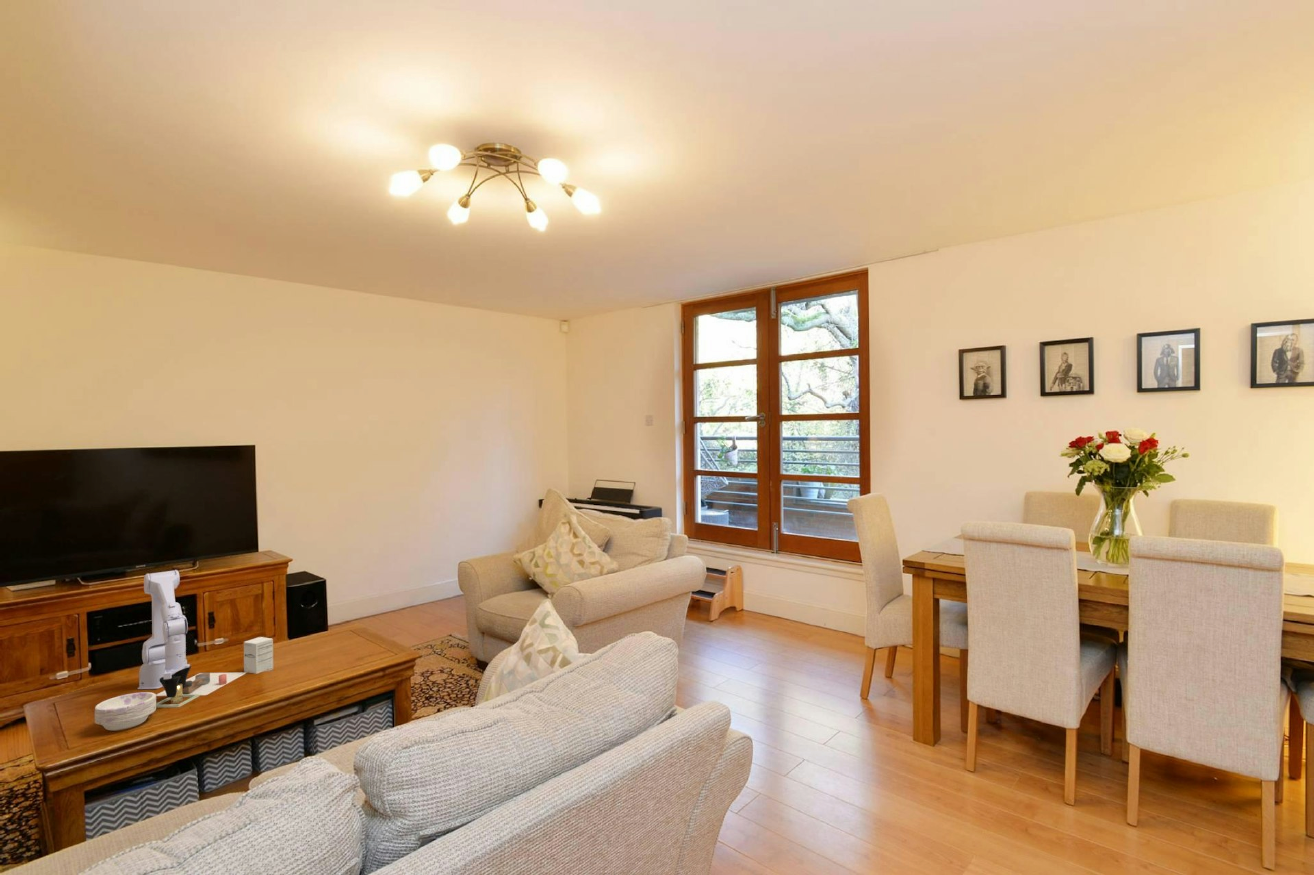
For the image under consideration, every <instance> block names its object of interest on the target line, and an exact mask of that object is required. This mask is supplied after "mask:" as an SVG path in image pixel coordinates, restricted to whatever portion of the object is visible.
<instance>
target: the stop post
mask: <svg viewBox="0 0 1314 875" xmlns="http://www.w3.org/2000/svg"><path fill="white" fill-rule="evenodd" d="M226 683H227V675H226V674H222V675H219V685H224V684H226ZM227 684H228V683H227ZM227 684H226V685H227ZM224 686H225V685H224Z"/></svg>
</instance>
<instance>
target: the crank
mask: <svg viewBox="0 0 1314 875" xmlns="http://www.w3.org/2000/svg"><path fill="white" fill-rule="evenodd" d="M201 673H202V674H199V673H197V674H198V675H197V674H195V675H196V676H195V675H194V676H195V680H194V681H193V682H192V681H186V683H185V687H184V689H182V693H183V694H190V693H191V692H193V691H194V690H195V689H197V688H198V687H200V686H201V685H203V684H207V683H209V682H210V673H211V672H201Z"/></svg>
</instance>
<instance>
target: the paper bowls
mask: <svg viewBox="0 0 1314 875" xmlns="http://www.w3.org/2000/svg"><path fill="white" fill-rule="evenodd" d="M156 695H157V694H156V693H154V692H151V691H150V692H149V691H145V692H144V691H143V692H133V693H127V694H126V693H125V694H122V695H118V696H115V697H112V698H108V699H106V700H103V701H101V702H100V703H98V704H97V705H95V707H94V723H95V724H96V725H101V726H102V727H103V728H104V729H105V730H107V731H111V732H112V731H122V730H127V729H131V728H133V727H137V726H139V725H142V724H143V723H144V722H146V720H148V717H149V716H150V715H151V714H153V713H154V712H156V710H157V708H156V703H157V696H156Z"/></svg>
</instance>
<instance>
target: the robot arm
mask: <svg viewBox="0 0 1314 875" xmlns="http://www.w3.org/2000/svg"><path fill="white" fill-rule="evenodd" d="M180 579H181V578H180V572H179V571H178V569H174V570H169V571H168V570H167V571H161V572H160V571H159V572H152V573H151V572H150V573H145V575H144V577H143V591H144V594H146V595H150V596H151V623H152V624H151V633H152V634H151V636H150V637H149V638H148V639H147V640H146V641H144V642H143V644H142V650H141V659H142V662H143V664H141V666H140V668H139V671H138V676H139V680H138V681H139V684H138V685H139V686H138V687H137V690H158V689H160V688H162V687H163V688H164V691H166V695H167V696H166V697H167V698H170V697H175V696H176V692H177V685H178V684H182V689H184V687H185V683H186V680H187V679H188V676H189V675H188V674H189V673H190V670H191V669H192V666H191V664H190V663H188V659H187V655H186V654H187V653H186V652H187V651H186V650H187V647H186V646H187V645H186V644H187V642H186V634H188V630H189V626H188V624H189V623H188V620H187V617H186V615H184V614H183V611H182V607H181V603H179V602H176V597H175V589H177V588H178V586H179V585H180Z"/></svg>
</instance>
